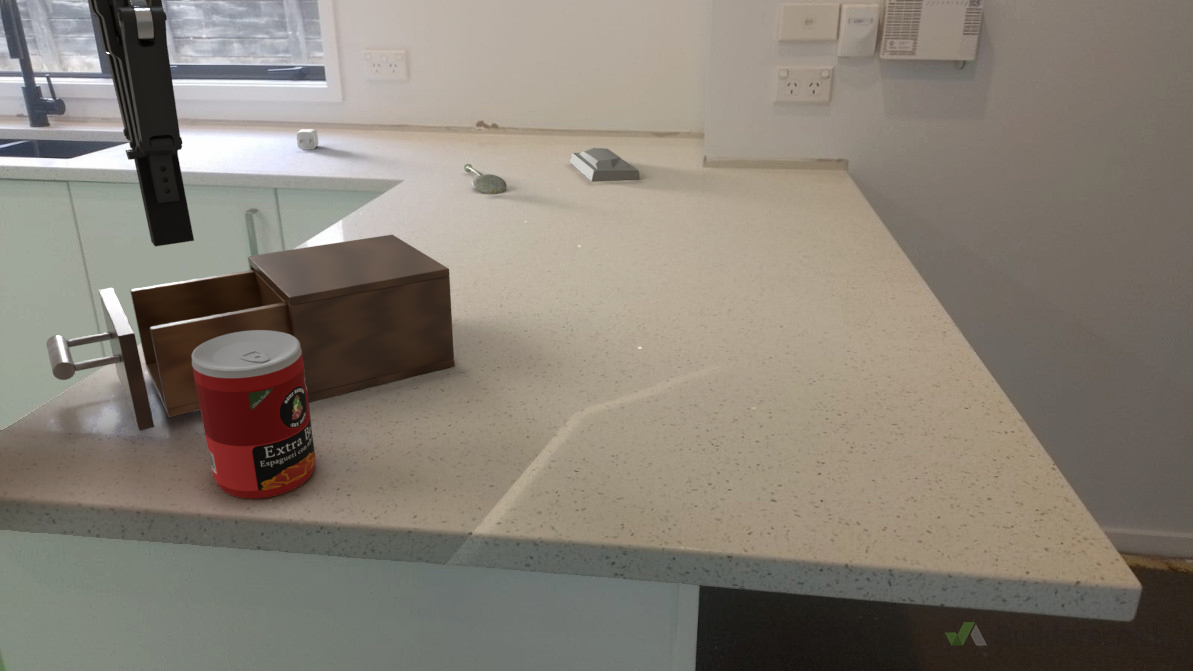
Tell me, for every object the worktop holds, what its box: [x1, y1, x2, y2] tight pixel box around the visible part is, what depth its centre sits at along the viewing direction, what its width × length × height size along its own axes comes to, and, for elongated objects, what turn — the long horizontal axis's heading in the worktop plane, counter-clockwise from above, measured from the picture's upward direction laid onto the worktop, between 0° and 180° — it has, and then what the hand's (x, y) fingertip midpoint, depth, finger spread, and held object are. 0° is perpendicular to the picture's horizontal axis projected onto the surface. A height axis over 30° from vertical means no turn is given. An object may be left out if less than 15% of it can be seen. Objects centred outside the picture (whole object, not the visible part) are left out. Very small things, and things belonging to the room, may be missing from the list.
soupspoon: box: [463, 163, 508, 195], centre depth 168 cm, size 22×3×7 cm
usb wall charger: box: [295, 128, 319, 150], centre depth 199 cm, size 4×7×4 cm, turn 7°
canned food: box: [192, 330, 316, 499], centre depth 65 cm, size 8×8×11 cm
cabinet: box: [247, 234, 455, 403], centre depth 86 cm, size 16×15×11 cm
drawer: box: [46, 269, 292, 432], centre depth 77 cm, size 20×13×9 cm
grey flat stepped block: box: [569, 147, 640, 182], centre depth 180 cm, size 10×20×4 cm, turn 14°
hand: (172, 241), depth 64 cm, fingers closed
